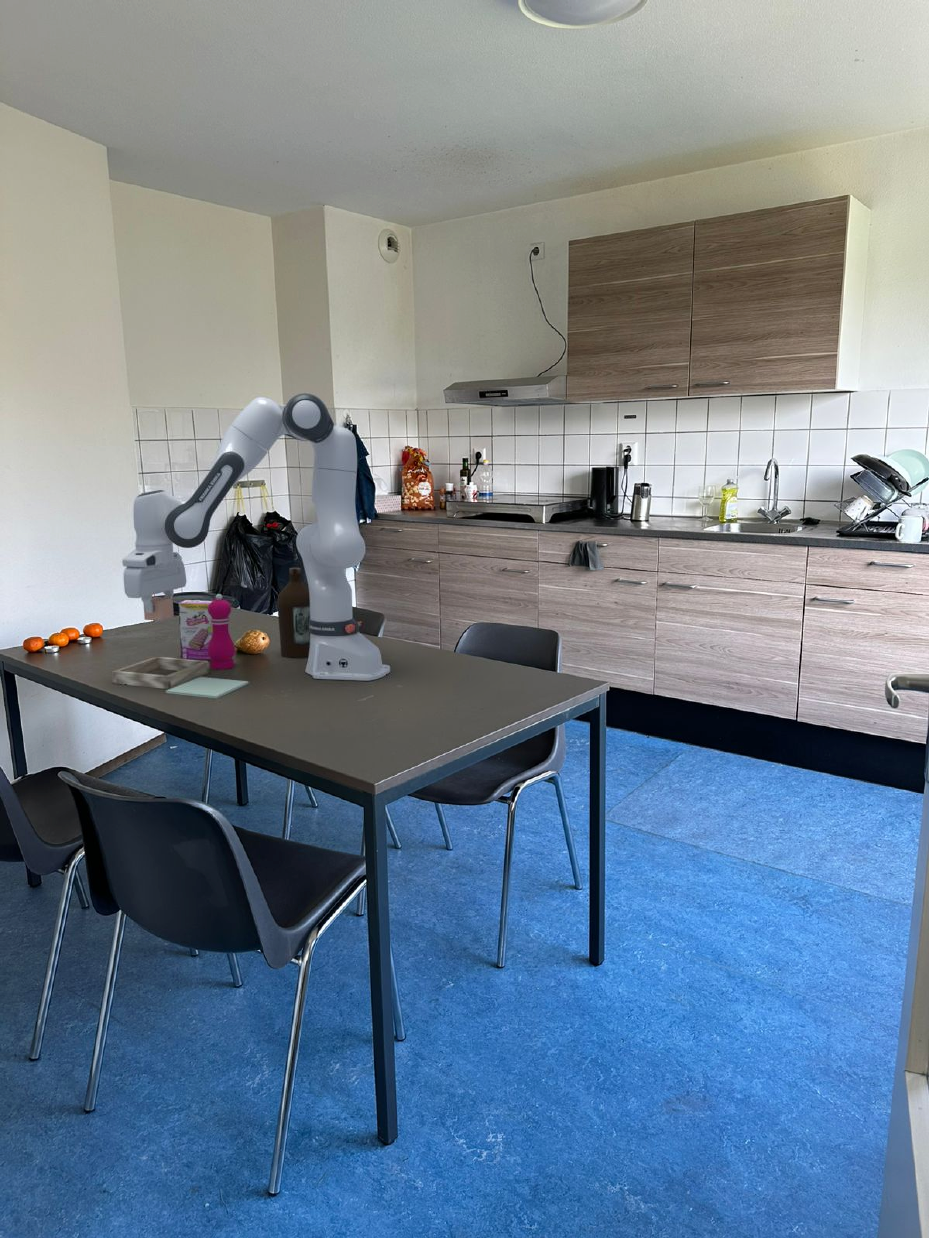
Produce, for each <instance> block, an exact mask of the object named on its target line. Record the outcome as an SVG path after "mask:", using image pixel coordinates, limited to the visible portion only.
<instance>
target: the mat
mask: <svg viewBox="0 0 929 1238" xmlns="http://www.w3.org/2000/svg"><path fill="white" fill-rule="evenodd" d="M247 685H249V681H247V680H238V679H237V680H236V679H226V678H216V677H215V678H214V677H206V676H199V677H197V678H194V679H192V680H189V681H187V682H184V683H182V684H180V685H177V686H175V687H172V688H170V689H166V690H165V694H171V695H180V696H191V697H200V698H209V699H219V698H220V697H223V696H225V695H228V694H229V693H231V692H233V691H235V690H238V689H240V688H243V687H244V686H247Z"/></svg>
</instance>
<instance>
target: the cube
mask: <svg viewBox="0 0 929 1238" xmlns="http://www.w3.org/2000/svg"><path fill="white" fill-rule="evenodd" d="M151 602H152V604H153V605H155V612H152V613H147V612H146V607H145V605H144V603H143V602H142V604H143V615H144V617H143V618H144V620H145V621H158V622H159V621H160V622H163V621H166V620H168V619H172V618H175V617H174V603H173V602H174V601H173V597H172V598H164V596H162V597H161V596H154V597H152V599H151Z"/></svg>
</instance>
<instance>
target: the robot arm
mask: <svg viewBox="0 0 929 1238" xmlns="http://www.w3.org/2000/svg"><path fill="white" fill-rule="evenodd" d="M334 423H335V422H334V420H333V419H332V417H331V414H330V413H329V409H328V408H327V406H326V404H325V403H324V402H323V400H322V399H321V398H319V397H318V396H316V395H315V394H312V393H304V392H303V393H298V394H296V395H295V396H293V397H291V398H290V399H289V400H288V401H287V403H286V404H280V403H278V402H276V401H274V400H273V399H270V398H267V397H264V396H259V397H256V398H254V399H253V400H251V402H249V403H248V404H247V405H246V406H245V407H244V408H243V409H242V410H241V411H240V413H239V414H238V415H237V416H236V417H235V419H234V420H233V421H232V423H231V424H230V425H229V427H228V429H227V430H226V431H225V433H224V435H223V437H222V438H221V441H220V443H219V445H218V448H217V450H216V453H215V457H214V461H213V462H212V465H211V468H210V470H209V472H208V473H207V474H206V476H205V477H204V479H203V480H202V481H201V483H200V484H199V486H198V487H197V489H195V492H194V493H193V494H192V496H190V498H189V499H188V500H187V501H185V500H183V499H180V498H178V497H176V496H174V495H171V493H169V492H167V491H166V490H164V489H158V490H152V491H147V492H143V493H140V494H138V495H137V496H136V498H134V502H133V509H132V510H133V511H132V512H133V529H134V531H135V535H136V536H135V537H136V539H135V549H133V550H132V551H131V552H130V553H128V554H126V556H124V557H123V558H122V561H121V563H122V566H123V567H125V568H124V571H123V587H124V593H125V596H126V597H128V598H129V599H141V601H142V604H143V603H144V604H143V606H144V605H145V607H146V612H147V613H152V612H155V605H153V604H152V602H151V599H152V598H153V596H154V595H158V594H162V593H163V595H164V596H163V597H164V598H173V597H174V594H175V593H174V590H178V589H181V588H185V587H186V585H187V574H186V569H185V563H184V562H183V558H182V555H180V553H178V552H174V545H176V546H177V547H180V548H184V549H191V548H195V547H198V546H199V545H201V544H202V543H203V542H204V541H205V540H206V538H207V537H208V534H209V531H210V530H209V529H210V525H211V524H210V523H211V520H212V517H213V515H214V513H215V512H216V510H217V509H218V507H219V506H220V505H221V503H222V501H223V500H224V499H225V497H226V496H227V495H228V493H229V492H230V490H232V488H233V487H234V485H236V484H237V483H238V482H239V481H240V480H241V479H242V478H244V477H245V476H247V475H248V474H250V473H251V472H252V471H253V470H254V469H255V468H256V467H257V466H258V465H259V464H260V463H261V462H262V461H263V459H264V458H265V457H266V456H267V455H268V453H269V452H270V450H271V449H272V447H273V445H274V444H275V443H276V441H278V439H280V438H281V437H282V436H287V437H289V438H292V439H295V440H298V441H302V442H309V443H310V444H311V445H312V448H313V453H314V454H313V456H314V459H313V469H312V470H313V471H312V473H313V474H312V486H311V487H312V488H311V501H312V503H313V506H314V507H315V512H316V518H317V522H314V523H311V524H308V525H306V526H304V527H303V528H302V529H301V530H299V532H298V533H297V536H296V540H295V542H296V543H295V544H296V548H297V552H298V553H299V555H300V556H301V559H302V560H301V561H302V563H303V568H304V571H305V572H304V573H305V577H306V580H307V584H308V585H307V586H308V589H309V596H310V619H309V638H310V649H309V656H308V658H307V664H306V667H305V670H304V672H305V673H307V674H308V675H310V676H312V678H313V679H315V680H316V679H318V680H339V681H340V680H344V681H364V682H365V681H369V682H370V681H374V680H378V679H381V678H383V677H385V676H386V674H387V675H388V674H389V673H391V666H390V665H388V664H383V661H382V654H381V651H380V649H379V647H378V646H376V645H375V644H374V643H373V642H372V641H370V640H369V638H366V636H364V635H363V634H362V633H360V630H359V629H360V626H362V621H357V620H356V619H355V618H354V617H353V589H352V587H351V586H352V585H351V584H350V583H349V581H348V578H347V576H346V571H345V569H346V570H347V569H350V568H354V567H356V566H357V565H359V564H361V562H362V561H363V559H364V557H365V554H366V543H365V540H364V537H363V536H362V535H361V531H360V529H359V523H358V519H357V511H356V489H357V488H356V487H357V475H358V474H357V473H358V472H357V471H358V451H357V441H356V436H355V434H354V433H353V432H352V431H351V430H350V429H348V428H347V427H343V426H340V425H335V424H334ZM173 544H174V545H173Z"/></svg>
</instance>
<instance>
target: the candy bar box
mask: <svg viewBox="0 0 929 1238" xmlns="http://www.w3.org/2000/svg"><path fill="white" fill-rule="evenodd" d="M212 601H213V600H198V599H197V600H195V599H194V600H192V599H185V600H183V601H180V602H178V618H179V620H178V622H179V639H180V659H189V660H200V661H209V662H210V661H211V660H212V659H211V658H210V657H209V655H208V646H209V643H210V640H211V637H212V633H213V627H212V624H211V623H210V622H211V620H210V619H211V618H212V617H211V616H210V615H209V613H208V606H209V604H210V603H211V602H212Z"/></svg>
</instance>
